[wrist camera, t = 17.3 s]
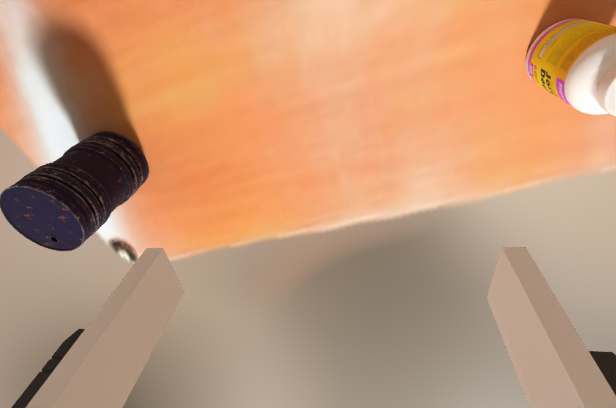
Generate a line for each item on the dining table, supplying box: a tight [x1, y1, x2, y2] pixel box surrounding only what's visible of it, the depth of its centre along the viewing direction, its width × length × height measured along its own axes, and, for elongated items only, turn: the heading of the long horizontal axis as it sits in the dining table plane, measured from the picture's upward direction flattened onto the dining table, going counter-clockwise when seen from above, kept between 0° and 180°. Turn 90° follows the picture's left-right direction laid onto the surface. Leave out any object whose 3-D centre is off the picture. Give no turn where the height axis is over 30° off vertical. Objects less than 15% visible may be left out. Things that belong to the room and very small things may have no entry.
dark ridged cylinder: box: [0, 132, 149, 251], centre depth 44 cm, size 10×10×15 cm
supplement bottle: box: [526, 18, 616, 116], centre depth 30 cm, size 7×7×13 cm
